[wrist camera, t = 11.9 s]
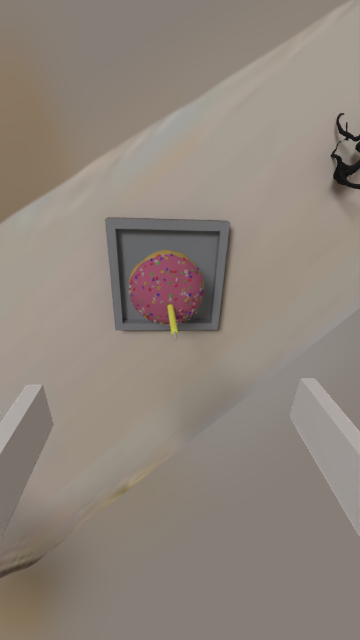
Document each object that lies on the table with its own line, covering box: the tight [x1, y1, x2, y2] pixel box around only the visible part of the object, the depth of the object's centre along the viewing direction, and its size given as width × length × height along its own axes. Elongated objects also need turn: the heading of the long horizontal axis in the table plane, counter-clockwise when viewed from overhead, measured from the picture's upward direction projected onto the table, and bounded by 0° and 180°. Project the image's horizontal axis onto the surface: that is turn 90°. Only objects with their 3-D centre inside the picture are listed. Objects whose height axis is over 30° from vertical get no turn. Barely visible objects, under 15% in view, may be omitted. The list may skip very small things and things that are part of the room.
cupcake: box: [129, 250, 204, 340], centre depth 27 cm, size 9×8×12 cm
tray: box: [105, 217, 230, 330], centre depth 32 cm, size 14×14×2 cm
